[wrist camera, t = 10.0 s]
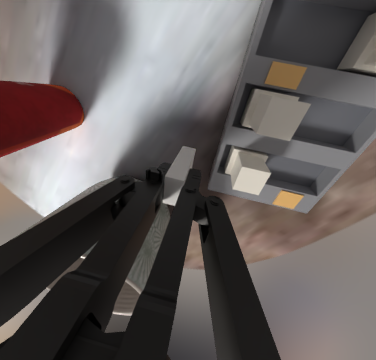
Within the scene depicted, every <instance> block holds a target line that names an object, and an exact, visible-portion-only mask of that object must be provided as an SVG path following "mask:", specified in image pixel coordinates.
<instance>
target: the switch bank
mask: <svg viewBox="0 0 376 360" xmlns="http://www.w3.org/2000/svg"><path fill="white" fill-rule="evenodd" d="M374 13H376V0H262V1H261V4H260V7H259V11H258V14H257V18H256V21H255V24H254V28H253V31H252V34H251V38H250V41H249V44H248V48H247V51H246V55H245V58H244V61H243V65H242V68H241V71H240V75H239V78H238V82H237V85H236V88H235V92H234V95H233V98H232V102H231V105H230V109H229V112H228V115H227V119H226V122H225V125H224V129H223V132H222V135H221V139H220V142H219V146H218V149H217V152H216V156H215V159H214V162H213V166H212V169H211V173H210V176H209V182H208V190H212V191H216V192H220V193H224V194H228V195H233V196H237V197H241V198H245V199H249V200H253V201H257V202H261V203H266V204H270V205H274V206H278V207H282V208H286V209H290V210H295V211H299V212H303V213H308V212H309V210H310V209H311V208H312V207H313V206H314V205H315V204H316V203H317V202H318V201H319V200H320V198H321V197H322V196H323V195H324V194H325V193H326V192H327V191H328V190H329V189H330V187H331V186H332V185H333V184H334V183H335V182H336V181H337V180H338V179H339V178H340V176H341V175H342V174H343V173H344V172H345V171H346V170H347V169H348V168H349V167H350V165H351V164H352V163H353V162H354V161H355V160H356V159H357V158H358V157H359V156H360V154H361V153H362V152H363V151H364V150H365V149H366V148H367V147H368V146H369V145H370V144H371V142H372V141H373V140H374V139H375V138H376V77H373V76H368V75H362V74H357V73H351V72H346V71H341V70H336V69H337V68H338V66H339V64H340V63H341V61H342V59H343V58H344V56H345V54H346V53H347V51H348V49H349V47H350V46H351V44H352V42H353V41H354V39H355V37H356V36H357V34H358V32H359V31H360V29H361V27H362V26H363V24H364V22H365V21H366V19H367V17H368V16H369V15H372V14H374ZM252 88H254V89H260V90H265V91H270V92H275V93H280V94H285V95H290V96H295V97H300V98H299V99H298V101H299V102H304V103H309V104H311V105H310V107H309V109H308V111H307V112H306V114H305V116H304V117H303V119H302V121H301V123H300V124H299V126H298V128H297V130H296V131H295V133H294V135H293V136H292V138H291V140H290V141H287V140H282V139H278V138H273V137H268V136H264V135H259V134H256V133H255V132H254V130H253V129H252V128H249V127H245V126H242V125H241V123H240V121H241V118H242V115H243V112H244V109H245V107H246V104H247V101H248V98H249V95H250V92H251V89H252ZM232 145H233V146H238V147H242V148H247V149H251V150H256V151H260V152H265V153H266V154H267V155H268V158H267V160H266V162H265V164H266V165H267V167H268V169H269V170H270V172H271V175H270V176H269V178H268V180H267V181H266V183H265V185H264V187H263V188H262V190H261V192H260V194H259V195H255V194H251V193H247V192H242V191H238V190H234V189H232V182H231V175H230V174H226V173H225V164H226V161H227V158H228V155H229V152H230V149H231V146H232Z"/></svg>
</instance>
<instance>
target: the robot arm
mask: <svg viewBox="0 0 376 360" xmlns="http://www.w3.org/2000/svg"><path fill="white" fill-rule="evenodd" d="M195 151H196V149H194V148H190V147H186V146H183V147H182V148H181V150H180V152H179V153H178V155H177V157H176V158H175V160H174V162H173V163H172V164H168V163H163V164H161V165H160V167H159V168H149V169H147V170H146V180H145V181H142V182H139V181H135V179H134V178H133V177H132V176H126V175H125V176H120V177H118V178H116V179H115V180H113V181H111V182H109V183H108V184H106V185H104V186H103V187H101V188H99V189H97V190H96V191H94V192H92V193H91V194H89V195H87V196H85V197H84V198H82V199H80V200H79V201H77V202H75V203H73V204H72V205H70V206H68V207H67V208H65V209H63V210H61V211H60V212H58V213H56V214H55V215H53V216H51V217H49V218H48V219H46V220H44V221H43V222H41V223H39V224H37V225H36V226H34V227H32V228H31V229H29V230H27V231H25V232H24V233H22V234H20V235H19V236H17V237H15V238H13V239H12V240H10V241H8V242H7V243H5V244H3V245H2V246H0V327H1V326H2V325H3V324H4V323H6V322H7V321H8V320H10V319H11V318H12V317H14V316H15V315H16V314H17V313H18V312H20V311H21V310H22V309H23V308H24V307H25V306H27V305H28V304H29V303H30V302H31V301H32V300H33V299H34V298H36V297H37V296H38V295H39V294H40V293H41V292H42V291H43V290H44V289H46V288H47V287H48V286H49V285H50V284H51V283H52V282H53V281H54V280H56V279H57V278H58V277H59V276H60V275H61V274H62V273H63V272H64V271H66V270H67V269H68V268H69V267H70V266H71V265H72V264H73V263H74V262H76V261H77V260H78V259H79V258H80V257H81V256H82V255H83V254H84V253H86V252H87V251H88V250H89V249H90V248H91V247H92V246H93V245H94V244H96V243H97V244H96V245H95V246H94V247H93V249H92V250H91V251H90V253H89V254H88V255H87V257H86V258H85V259H84V260H83V262H82V263H81V264H80V266H79V267H78V268H77V269H75V270H74V271H71V272H68V273H66V274H65V275H63V276H62V277H61V278H60V279H59V280H58V281H57V282H56V284H55V285H54V286H53V287H52V288H51V290H50V291H49V292H48V293H47V295H46V296H45V297H44V298H43V299H42V301H41V302H40V303H39V304H38V306H37V307H36V308H35V309H34V310H33V312H32V313H31V314H30V315H29V317H28V318H27V319H26V320H25V321H24V323H23V324H22V325H21V326H20V327H19V329H18V330H17V331H16V332H15V333H14V335H13V336H11V337H10V338H8V339H7V340H5V341H4V342H2V343H1V344H0V360H171V359H170V358H169V356H168V355H167V351H168V346H169V340H170V336H171V330H172V325H173V320H174V315H175V310H176V304H177V296H178V291H179V286H180V281H181V276H182V271H183V266H184V261H185V256H186V251H187V246H188V241H189V236H190V231H191V226H192V221H193V220H194V221H196V222H197V223H199V232H200V239H201V246H202V254H203V261H204V268H205V275H206V282H207V289H208V297H209V304H210V311H211V318H212V325H213V332H214V340H215V347H216V354H217V360H281V359H280V356H279V353H278V350H277V348H276V345H275V342H274V340H273V337H272V334H271V332H270V328H269V326H268V323H267V320H266V317H265V315H264V312H263V309H262V307H261V304H260V301H259V298H258V296H257V293H256V290H255V287H254V285H253V282H252V279H251V277H250V274H249V271H248V268H247V265H246V263H245V260H244V257H243V254H242V252H241V249H240V246H239V243H238V241H237V238H236V235H235V232H234V230H233V227H232V224H231V221H230V219H229V216H228V213H227V210H226V208H225V205H224V202H223V201H222V200H221V199H220V198H218V197H216V196H209V197H207V198H206V197H204V196H202V195H201V194H200V193H199V184H200V179H201V172H200V170H195V169H192V166H193V161H194V156H195ZM162 199H163V202H162V203H165V204H169V205H173V206H175V207H174V209H173V212H172V215H171V218H170V220H169V223H168V226H167V228H166V231H165V234H164V236H163V239H162V242H161V245H160V247H159V250H158V253H157V255H156V258H155V261H154V263H153V266H152V269H151V271H150V274H149V277H148V280H147V282H146V285H145V287H144V289H143V291H142V292H141V294H140V296H139V298H138V300H137V303H136V305H135V308H134V310H133V313H132V316H131V318H130V321H129V323H128V326H127V329H126V331H125V332H115V333H104V332H105V329H106V327H107V325H108V323H109V320H110V318H111V316H112V313H113V310H114V305H115V302H116V300H117V297H118V295H119V293H120V291H121V289H122V287H123V285H124V283H125V280H126V278H127V276H128V274H129V272H130V270H131V268H132V266H133V264H134V262H135V259H136V257H137V255H138V253H139V251H140V249H141V247H142V245H143V243H144V241H145V239H146V236H147V234H148V232H149V230H150V228H151V226H152V224H153V222H154V220H155V218H156V215H157V213H158V211H159V209H160V207H161V201H162ZM117 200H118V201H117ZM116 201H117V202H116Z"/></svg>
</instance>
